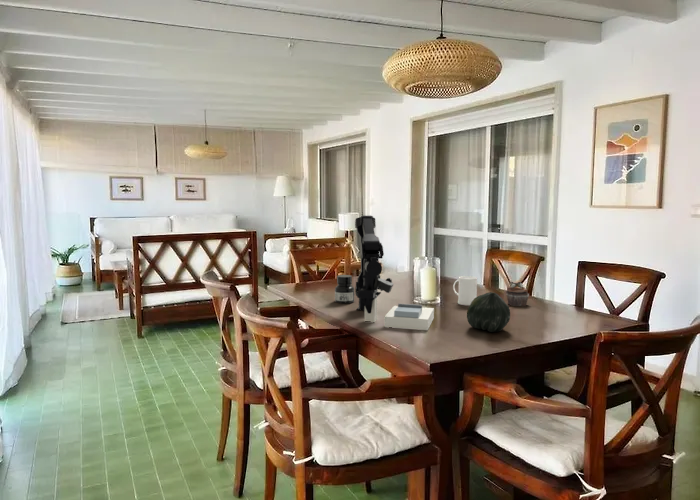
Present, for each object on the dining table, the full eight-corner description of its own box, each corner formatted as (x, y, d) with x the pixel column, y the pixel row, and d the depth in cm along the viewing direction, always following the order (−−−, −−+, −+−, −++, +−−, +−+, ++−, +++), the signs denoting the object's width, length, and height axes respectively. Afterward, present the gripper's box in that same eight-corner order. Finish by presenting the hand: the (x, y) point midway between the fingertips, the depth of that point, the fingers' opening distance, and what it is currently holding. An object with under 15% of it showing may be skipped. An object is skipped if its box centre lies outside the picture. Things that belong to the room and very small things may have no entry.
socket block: (394, 315, 202) (394, 305, 202) (433, 318, 198) (434, 308, 197) (384, 327, 184) (384, 316, 184) (427, 330, 180) (427, 319, 179)
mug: (448, 302, 228) (448, 276, 227) (459, 299, 233) (460, 274, 232) (469, 306, 219) (469, 279, 218) (480, 303, 224) (481, 277, 223)
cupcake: (510, 306, 219) (511, 284, 218) (503, 302, 228) (503, 280, 227) (532, 306, 219) (532, 284, 218) (523, 301, 229) (524, 280, 228)
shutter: (398, 311, 192) (398, 303, 192) (421, 312, 190) (422, 304, 189) (394, 316, 184) (394, 308, 184) (418, 317, 181) (418, 309, 181)
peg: (366, 319, 196) (366, 294, 195) (377, 320, 195) (377, 294, 194) (364, 321, 192) (364, 296, 191) (374, 322, 191) (374, 297, 190)
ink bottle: (332, 303, 225) (332, 277, 224) (336, 299, 234) (336, 274, 232) (353, 304, 223) (353, 277, 222) (356, 300, 232) (356, 274, 231)
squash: (471, 307, 192) (469, 283, 182) (511, 312, 187) (512, 287, 176) (465, 338, 184) (463, 314, 173) (507, 344, 178) (508, 320, 168)
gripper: (386, 277, 180) (386, 319, 182) (396, 269, 198) (395, 308, 200) (356, 275, 183) (356, 317, 185) (369, 268, 201) (368, 306, 203)
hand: (370, 312), depth 193 cm, fingers closed on peg, 4 cm apart
